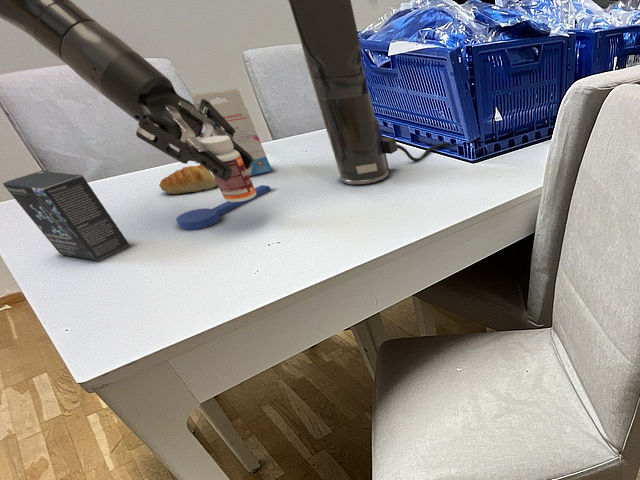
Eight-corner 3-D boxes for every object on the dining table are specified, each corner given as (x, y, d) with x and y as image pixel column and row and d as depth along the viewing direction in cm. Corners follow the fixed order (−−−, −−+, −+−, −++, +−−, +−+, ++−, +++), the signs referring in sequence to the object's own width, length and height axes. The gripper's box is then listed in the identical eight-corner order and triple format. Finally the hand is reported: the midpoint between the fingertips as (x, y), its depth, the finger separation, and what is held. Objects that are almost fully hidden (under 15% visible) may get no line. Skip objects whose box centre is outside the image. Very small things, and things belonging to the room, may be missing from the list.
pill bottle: (260, 198, 71) (235, 139, 65) (227, 205, 69) (199, 145, 63) (253, 189, 74) (229, 132, 68) (222, 196, 72) (194, 137, 66)
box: (59, 255, 68) (0, 182, 60) (95, 240, 71) (43, 169, 64) (97, 262, 66) (40, 187, 58) (132, 245, 70) (83, 173, 62)
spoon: (255, 188, 87) (252, 181, 86) (279, 191, 86) (277, 184, 85) (171, 227, 74) (167, 220, 74) (199, 231, 73) (195, 224, 72)
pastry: (167, 199, 84) (154, 177, 81) (161, 190, 88) (149, 169, 85) (220, 187, 88) (210, 166, 85) (213, 179, 92) (203, 158, 89)
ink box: (267, 166, 97) (233, 84, 87) (273, 171, 94) (239, 88, 84) (224, 174, 94) (185, 90, 83) (229, 180, 91) (189, 94, 80)
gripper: (78, 57, 54) (217, 167, 61) (163, 43, 64) (275, 138, 72) (72, 107, 59) (203, 204, 66) (153, 86, 69) (259, 173, 76)
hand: (240, 169), depth 69 cm, fingers closed on pill bottle, 4 cm apart
